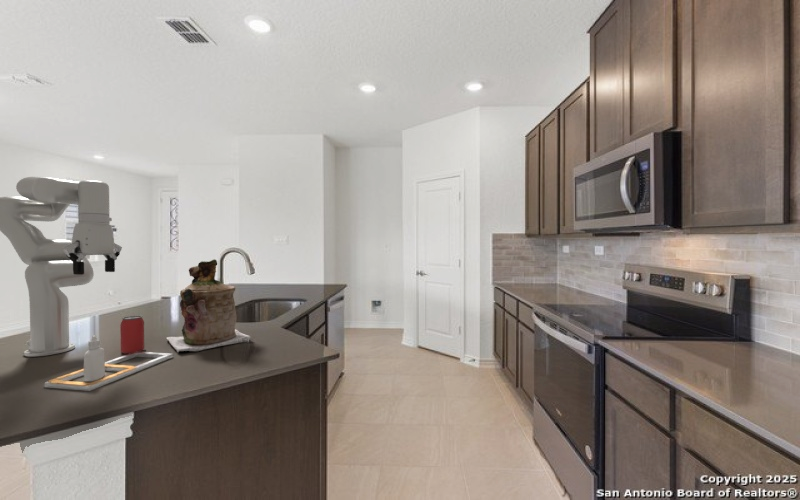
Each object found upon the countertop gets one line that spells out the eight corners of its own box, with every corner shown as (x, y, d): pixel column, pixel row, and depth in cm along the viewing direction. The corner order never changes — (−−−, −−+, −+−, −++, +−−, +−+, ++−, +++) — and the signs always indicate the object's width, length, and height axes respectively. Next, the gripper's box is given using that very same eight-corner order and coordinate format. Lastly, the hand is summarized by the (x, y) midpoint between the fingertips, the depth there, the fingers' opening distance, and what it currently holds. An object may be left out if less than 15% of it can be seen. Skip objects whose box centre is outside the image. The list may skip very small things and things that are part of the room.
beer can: (131, 354, 117) (131, 319, 117) (115, 353, 118) (115, 318, 118) (149, 349, 123) (148, 315, 123) (134, 347, 125) (133, 314, 124)
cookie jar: (232, 330, 151) (231, 257, 150) (252, 342, 133) (252, 259, 132) (164, 340, 134) (163, 258, 133) (178, 356, 116) (177, 261, 115)
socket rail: (44, 387, 91) (44, 381, 91) (136, 354, 117) (136, 350, 117) (89, 390, 88) (89, 385, 88) (173, 357, 115) (173, 353, 115)
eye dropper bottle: (77, 381, 95) (76, 337, 94) (100, 373, 100) (99, 332, 100) (88, 383, 93) (88, 339, 93) (111, 375, 99) (110, 334, 98)
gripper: (110, 221, 120) (111, 270, 120) (53, 218, 103) (54, 275, 103) (129, 221, 118) (130, 271, 119) (74, 217, 101) (75, 275, 102)
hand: (95, 273), depth 111 cm, fingers open, 9 cm apart
